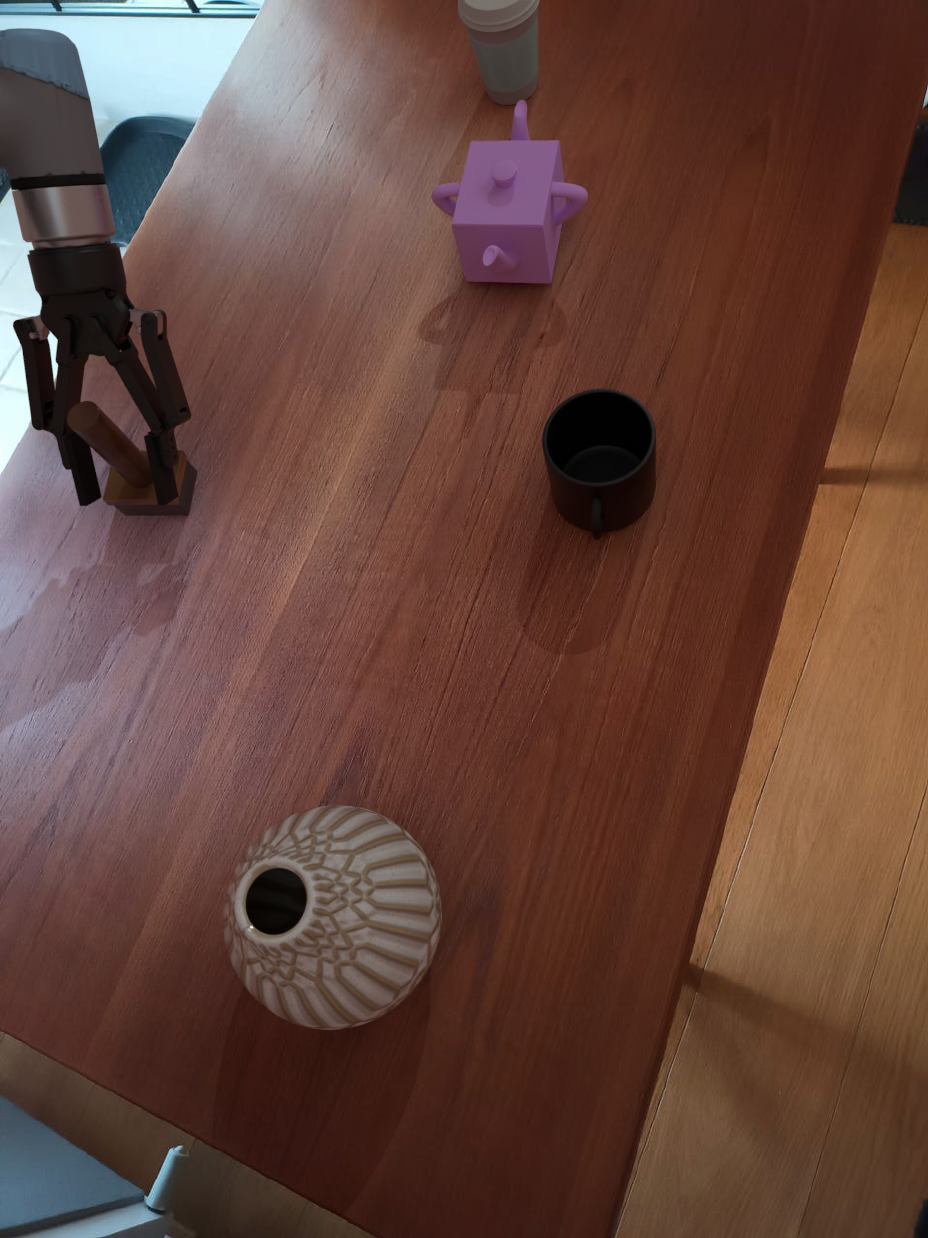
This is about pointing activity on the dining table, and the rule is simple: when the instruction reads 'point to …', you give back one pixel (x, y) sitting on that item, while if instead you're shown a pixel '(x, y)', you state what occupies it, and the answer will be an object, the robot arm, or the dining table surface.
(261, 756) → the dining table surface
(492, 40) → the coffee cup
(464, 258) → the teapot
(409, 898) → the vase
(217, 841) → the dining table surface
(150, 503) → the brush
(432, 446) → the dining table surface
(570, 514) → the mug
